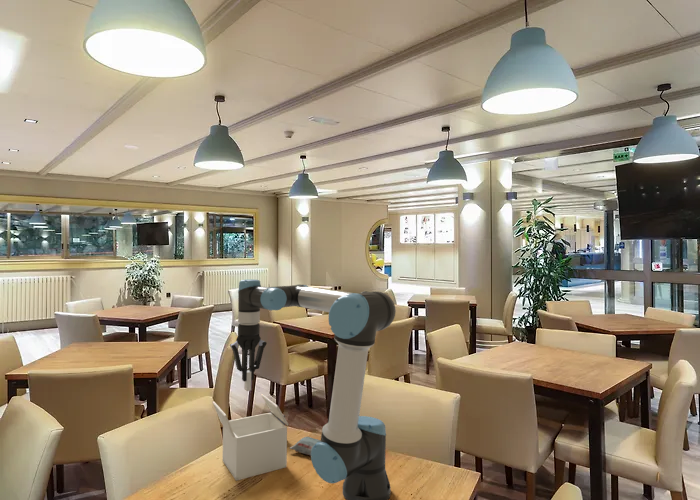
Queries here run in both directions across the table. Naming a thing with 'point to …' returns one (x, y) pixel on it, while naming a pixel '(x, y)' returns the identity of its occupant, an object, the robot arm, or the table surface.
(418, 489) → the table surface
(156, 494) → the table surface
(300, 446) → the packaged food
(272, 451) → the carton
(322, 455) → the robot arm
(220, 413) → the flap left
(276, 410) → the flap right
